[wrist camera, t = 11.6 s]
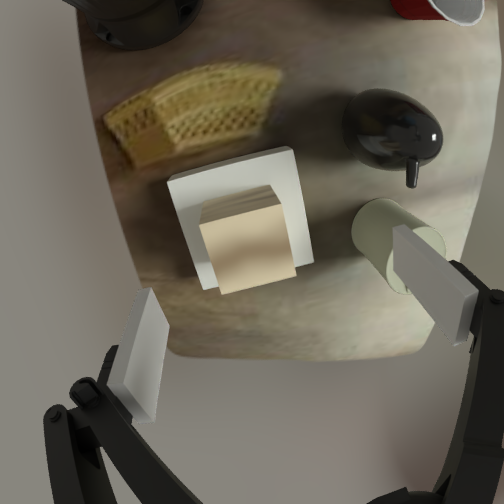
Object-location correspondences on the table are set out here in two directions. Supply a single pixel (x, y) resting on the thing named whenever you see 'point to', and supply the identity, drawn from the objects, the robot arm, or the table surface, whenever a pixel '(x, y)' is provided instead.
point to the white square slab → (233, 181)
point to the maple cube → (247, 239)
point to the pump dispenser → (391, 132)
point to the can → (389, 236)
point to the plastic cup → (441, 10)
